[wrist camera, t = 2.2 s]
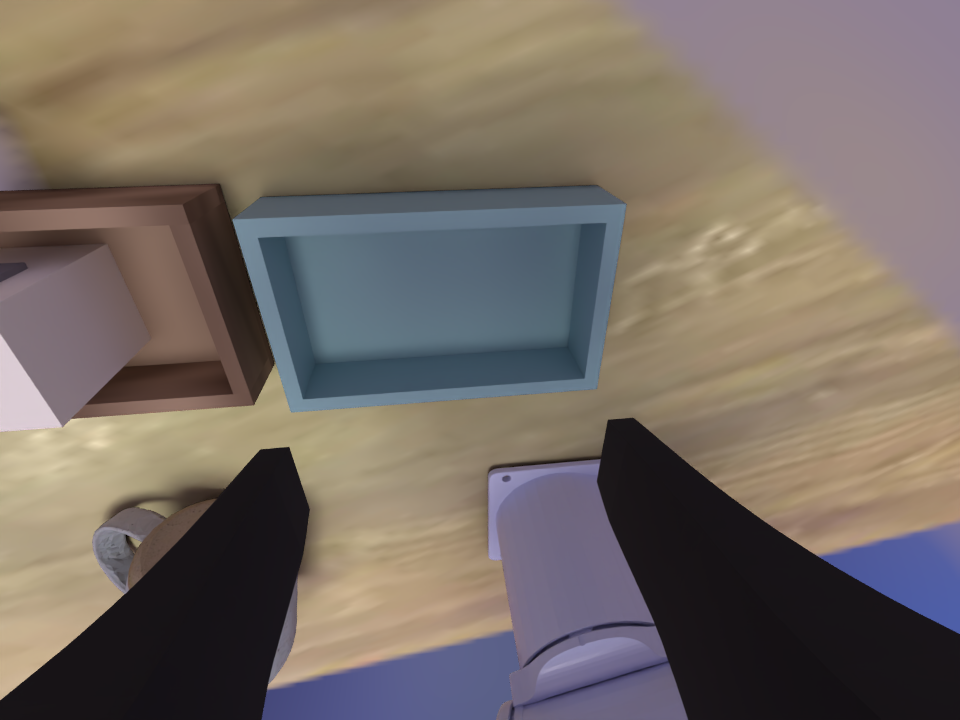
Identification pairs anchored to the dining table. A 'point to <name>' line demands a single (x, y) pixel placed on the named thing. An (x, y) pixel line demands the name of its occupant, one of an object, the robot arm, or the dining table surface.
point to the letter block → (61, 331)
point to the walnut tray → (161, 290)
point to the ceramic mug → (155, 544)
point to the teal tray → (433, 292)
